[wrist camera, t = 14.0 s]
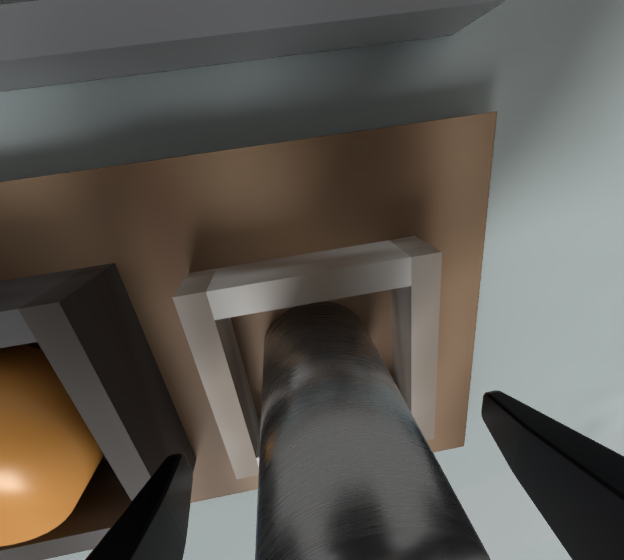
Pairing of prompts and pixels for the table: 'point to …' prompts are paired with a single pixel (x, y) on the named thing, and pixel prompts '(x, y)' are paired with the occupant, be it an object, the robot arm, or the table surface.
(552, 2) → the table surface
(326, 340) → the cylinder
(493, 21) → the table surface
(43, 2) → the gray square frame
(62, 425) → the button
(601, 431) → the table surface
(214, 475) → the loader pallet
